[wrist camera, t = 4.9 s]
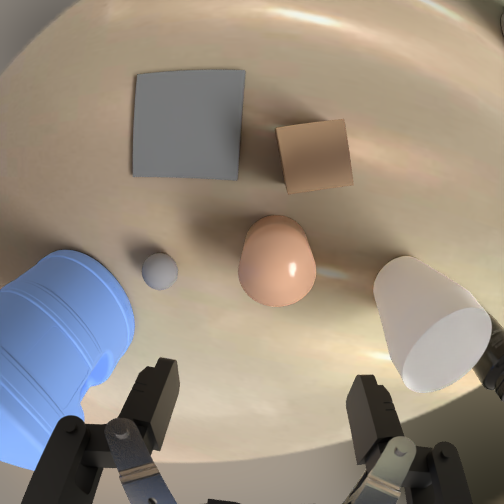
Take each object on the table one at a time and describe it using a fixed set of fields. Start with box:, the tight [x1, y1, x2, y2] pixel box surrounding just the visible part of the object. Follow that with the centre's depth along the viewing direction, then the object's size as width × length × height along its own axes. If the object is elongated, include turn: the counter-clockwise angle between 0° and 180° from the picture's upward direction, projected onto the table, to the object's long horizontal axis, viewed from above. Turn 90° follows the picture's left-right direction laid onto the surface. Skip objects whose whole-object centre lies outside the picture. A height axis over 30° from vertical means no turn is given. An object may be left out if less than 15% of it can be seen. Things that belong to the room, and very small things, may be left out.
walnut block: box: [275, 119, 353, 194], centre depth 22 cm, size 5×5×5 cm
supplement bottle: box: [472, 314, 504, 401], centre depth 25 cm, size 7×7×12 cm
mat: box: [133, 70, 245, 181], centre depth 24 cm, size 10×10×1 cm
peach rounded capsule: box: [238, 215, 316, 307], centre depth 25 cm, size 6×6×6 cm
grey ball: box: [142, 253, 178, 290], centre depth 28 cm, size 4×4×4 cm
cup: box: [373, 256, 492, 393], centre depth 23 cm, size 9×9×12 cm
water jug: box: [0, 250, 135, 471], centre depth 20 cm, size 16×16×28 cm
